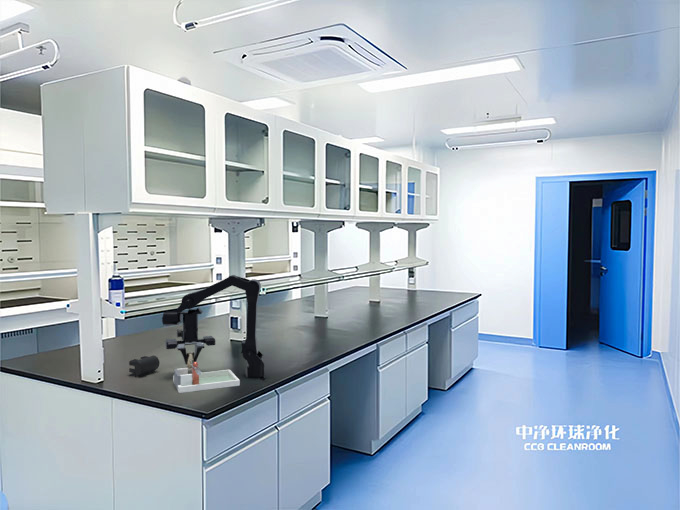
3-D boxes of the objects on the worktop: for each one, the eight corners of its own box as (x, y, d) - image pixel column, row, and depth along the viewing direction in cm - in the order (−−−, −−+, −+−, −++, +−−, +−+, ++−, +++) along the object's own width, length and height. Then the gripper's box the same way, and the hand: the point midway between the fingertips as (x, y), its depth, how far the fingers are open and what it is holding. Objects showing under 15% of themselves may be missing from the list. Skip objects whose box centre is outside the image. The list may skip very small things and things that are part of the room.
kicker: (193, 373, 197) (193, 351, 196) (203, 389, 177) (203, 364, 177) (185, 374, 195) (185, 352, 195) (195, 390, 176) (195, 365, 176)
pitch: (229, 376, 198) (229, 361, 198) (239, 388, 184) (239, 371, 183) (173, 383, 188) (172, 367, 188) (178, 395, 174) (178, 378, 174)
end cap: (141, 378, 195) (141, 361, 194) (128, 376, 197) (128, 359, 197) (159, 372, 204) (159, 355, 204) (146, 370, 207) (146, 354, 206)
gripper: (210, 320, 205) (210, 356, 206) (163, 323, 197) (163, 361, 197) (215, 324, 195) (215, 363, 196) (166, 328, 187) (166, 368, 187)
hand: (190, 363), depth 194 cm, fingers closed on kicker, 3 cm apart
